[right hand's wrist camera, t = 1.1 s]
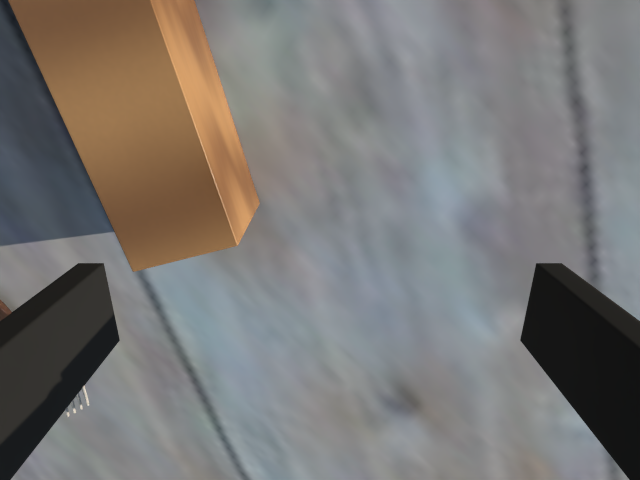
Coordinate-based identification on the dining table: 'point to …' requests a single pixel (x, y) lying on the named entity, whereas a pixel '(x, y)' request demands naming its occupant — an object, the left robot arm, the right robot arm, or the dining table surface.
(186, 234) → the bar
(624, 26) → the dining table surface
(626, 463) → the right robot arm
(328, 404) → the dining table surface
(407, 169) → the dining table surface
